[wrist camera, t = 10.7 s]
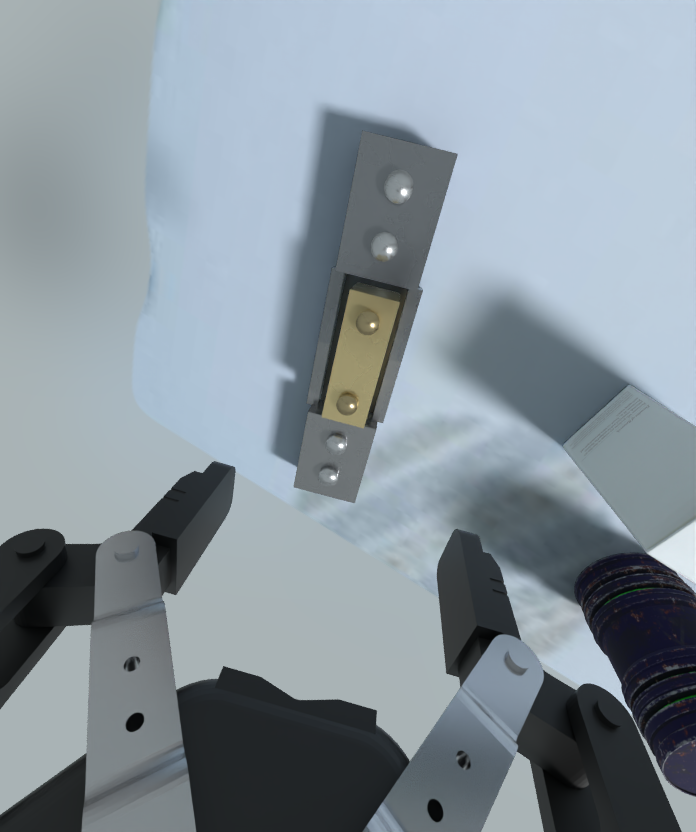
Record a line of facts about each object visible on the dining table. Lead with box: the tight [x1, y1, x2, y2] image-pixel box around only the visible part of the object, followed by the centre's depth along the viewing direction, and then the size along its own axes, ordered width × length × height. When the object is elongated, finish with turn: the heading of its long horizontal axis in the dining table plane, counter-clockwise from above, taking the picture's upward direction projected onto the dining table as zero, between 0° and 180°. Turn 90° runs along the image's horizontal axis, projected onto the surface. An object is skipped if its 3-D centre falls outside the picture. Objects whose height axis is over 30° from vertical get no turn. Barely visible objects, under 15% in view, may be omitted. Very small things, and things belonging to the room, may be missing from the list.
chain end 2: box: [294, 341, 401, 503], centre depth 33 cm, size 14×7×4 cm, turn 167°
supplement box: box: [563, 385, 696, 584], centre depth 26 cm, size 7×7×13 cm
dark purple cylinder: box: [574, 553, 696, 797], centre depth 32 cm, size 10×10×15 cm
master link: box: [322, 282, 400, 428], centre depth 29 cm, size 10×4×6 cm, turn 167°
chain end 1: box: [318, 131, 458, 362], centre depth 27 cm, size 14×7×4 cm, turn 167°
